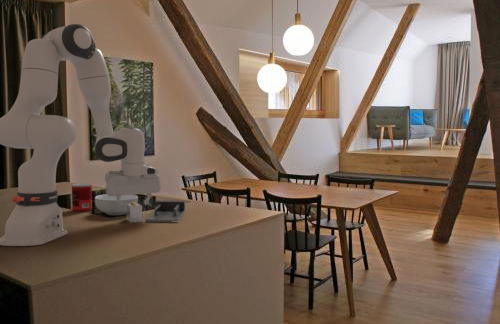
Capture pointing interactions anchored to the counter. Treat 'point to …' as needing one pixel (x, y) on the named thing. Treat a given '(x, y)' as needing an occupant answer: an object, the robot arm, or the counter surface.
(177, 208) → the coupler rail
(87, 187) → the canned food
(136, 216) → the lock block
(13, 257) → the counter surface
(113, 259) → the counter surface
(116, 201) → the cereal bowl
